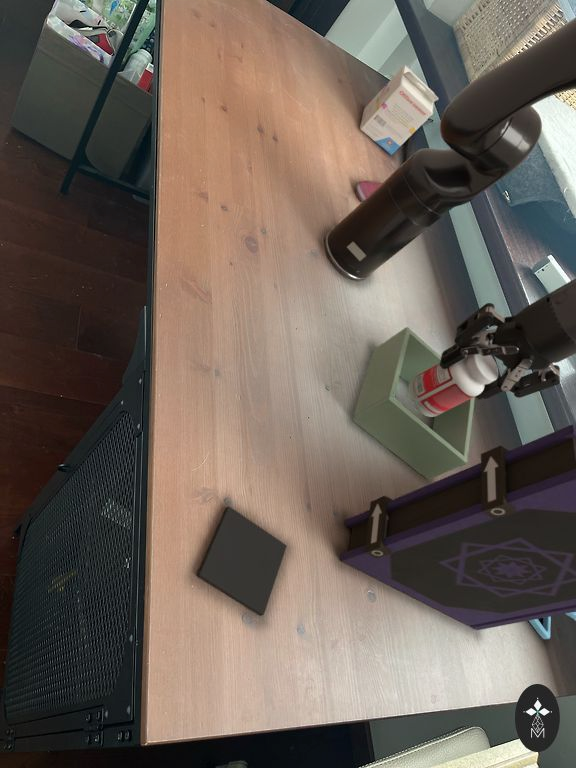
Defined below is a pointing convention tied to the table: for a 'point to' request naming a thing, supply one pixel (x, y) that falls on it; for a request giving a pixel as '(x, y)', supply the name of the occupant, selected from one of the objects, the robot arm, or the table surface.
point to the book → (482, 536)
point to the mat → (242, 561)
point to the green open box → (397, 423)
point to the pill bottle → (451, 384)
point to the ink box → (398, 110)
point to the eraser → (366, 189)
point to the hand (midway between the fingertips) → (459, 378)
